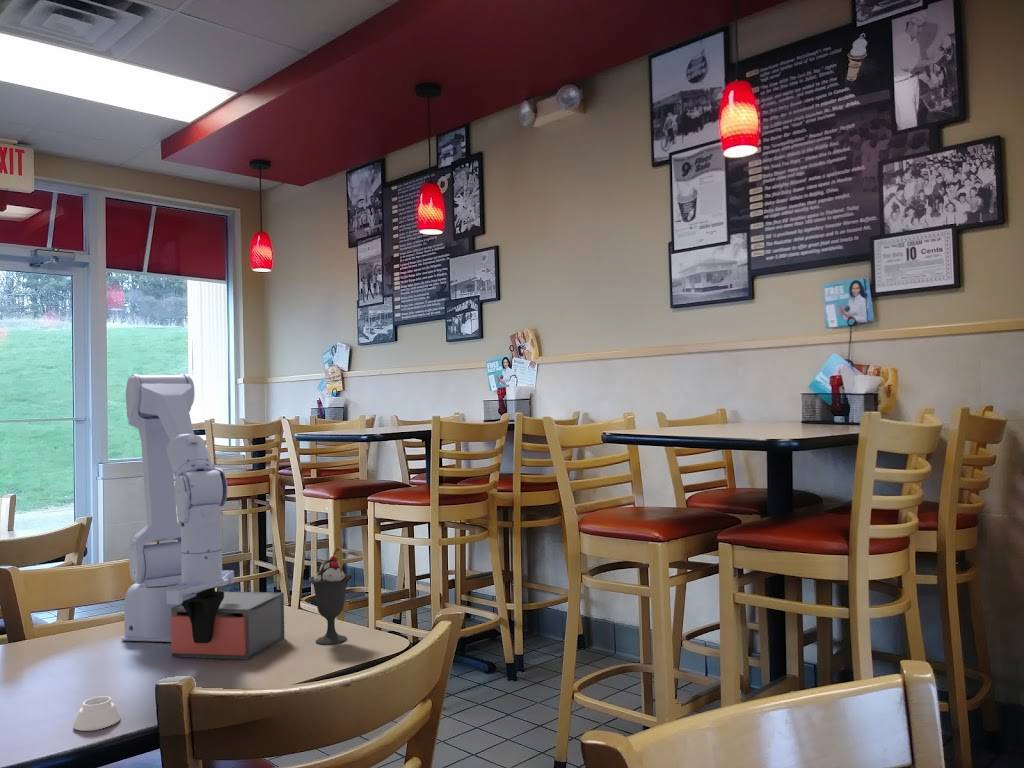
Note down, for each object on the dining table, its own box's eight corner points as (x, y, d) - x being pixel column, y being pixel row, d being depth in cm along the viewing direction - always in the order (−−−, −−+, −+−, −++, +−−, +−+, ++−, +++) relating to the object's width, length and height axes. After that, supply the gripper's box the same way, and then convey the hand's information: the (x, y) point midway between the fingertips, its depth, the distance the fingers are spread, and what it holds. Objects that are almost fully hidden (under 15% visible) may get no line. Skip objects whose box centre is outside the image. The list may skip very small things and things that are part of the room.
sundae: (347, 646, 125) (345, 549, 125) (305, 647, 125) (303, 551, 125) (356, 634, 131) (354, 542, 132) (316, 635, 132) (314, 544, 132)
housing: (172, 656, 122) (171, 607, 122) (212, 636, 133) (211, 591, 133) (249, 659, 120) (248, 609, 120) (284, 638, 130) (283, 592, 131)
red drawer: (171, 653, 121) (170, 616, 121) (211, 633, 132) (210, 599, 132) (243, 655, 119) (242, 618, 119) (278, 635, 129) (277, 601, 129)
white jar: (122, 727, 95) (118, 714, 99) (122, 702, 95) (118, 690, 99) (74, 737, 92) (72, 723, 96) (74, 711, 92) (72, 699, 97)
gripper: (197, 559, 112) (199, 657, 111) (251, 542, 126) (252, 629, 125) (152, 559, 113) (154, 656, 113) (210, 542, 127) (212, 628, 127)
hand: (203, 642), depth 119 cm, fingers closed
